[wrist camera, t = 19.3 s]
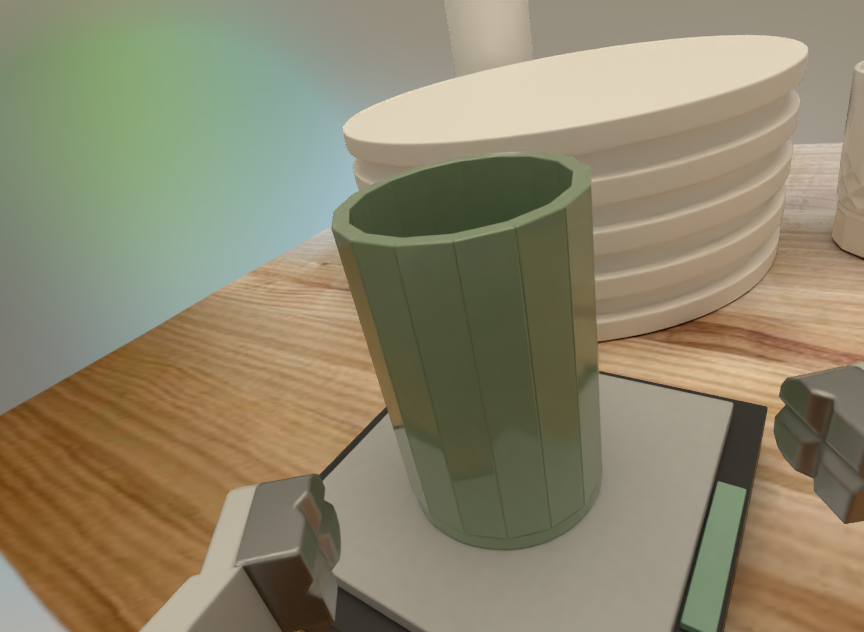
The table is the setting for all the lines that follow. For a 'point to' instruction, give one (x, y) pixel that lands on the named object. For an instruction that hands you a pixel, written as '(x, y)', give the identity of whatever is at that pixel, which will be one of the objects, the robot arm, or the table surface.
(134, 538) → the table surface
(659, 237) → the plate stack
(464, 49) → the bottle
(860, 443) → the robot arm
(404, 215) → the tumbler
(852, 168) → the white cup
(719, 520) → the scale
